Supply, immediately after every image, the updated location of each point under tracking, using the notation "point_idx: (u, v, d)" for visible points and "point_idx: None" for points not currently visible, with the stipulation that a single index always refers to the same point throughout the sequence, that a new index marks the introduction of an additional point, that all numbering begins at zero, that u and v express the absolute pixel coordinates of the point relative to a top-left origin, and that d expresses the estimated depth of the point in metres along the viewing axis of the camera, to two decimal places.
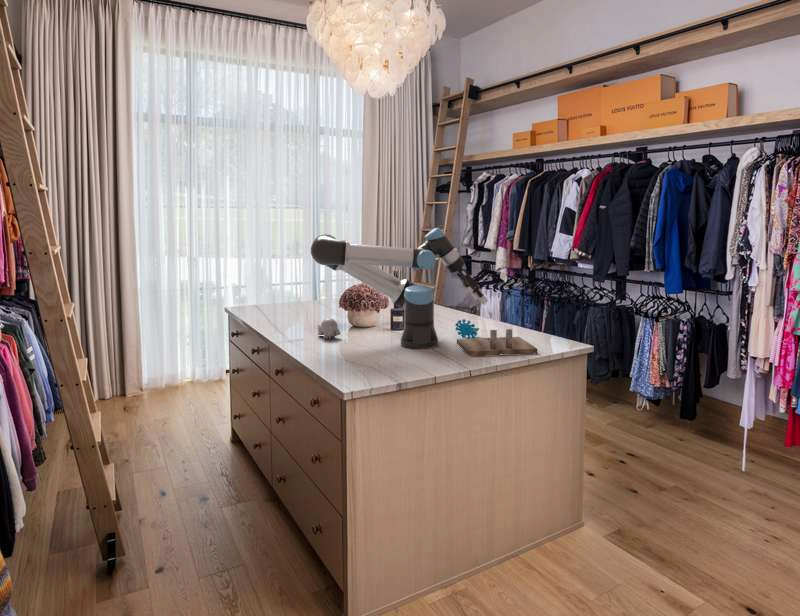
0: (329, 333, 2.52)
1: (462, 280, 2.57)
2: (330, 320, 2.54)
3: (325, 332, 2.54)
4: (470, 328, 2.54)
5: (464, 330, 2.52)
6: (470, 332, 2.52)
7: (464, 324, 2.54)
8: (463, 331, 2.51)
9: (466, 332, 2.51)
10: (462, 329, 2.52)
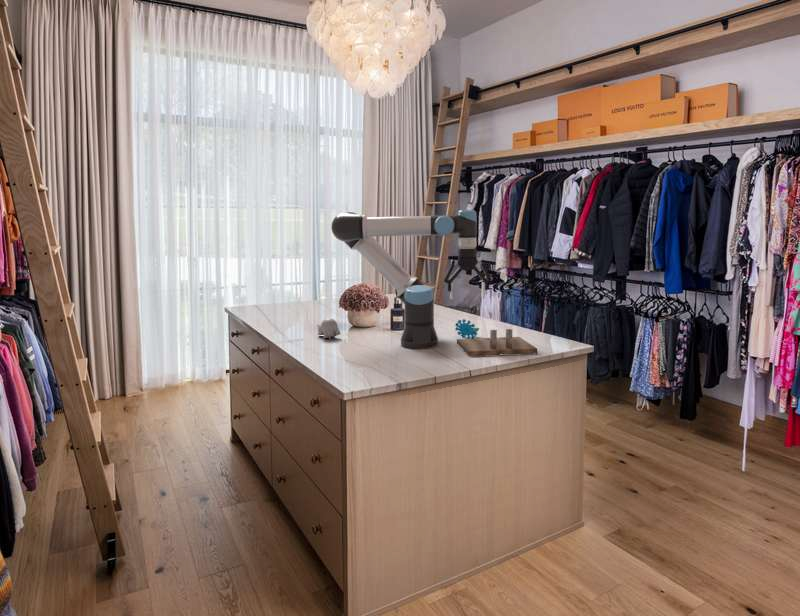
0: (329, 333, 2.52)
1: (475, 271, 2.51)
2: (330, 320, 2.54)
3: (325, 332, 2.54)
4: (470, 328, 2.54)
5: (464, 330, 2.52)
6: (470, 332, 2.52)
7: (464, 324, 2.54)
8: (463, 331, 2.51)
9: (466, 332, 2.51)
10: (462, 329, 2.52)
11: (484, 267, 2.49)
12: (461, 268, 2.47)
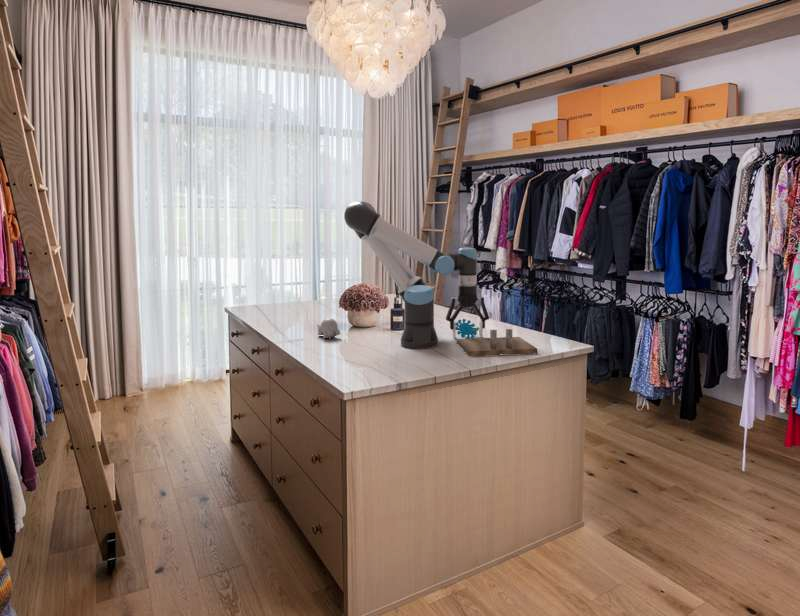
0: (329, 333, 2.52)
1: (474, 308, 2.53)
2: (330, 320, 2.54)
3: (325, 332, 2.54)
4: (470, 328, 2.54)
5: (464, 330, 2.52)
6: (470, 332, 2.52)
7: (464, 324, 2.54)
8: (463, 331, 2.52)
9: (466, 332, 2.52)
10: (462, 329, 2.52)
11: (483, 305, 2.51)
12: (462, 305, 2.50)
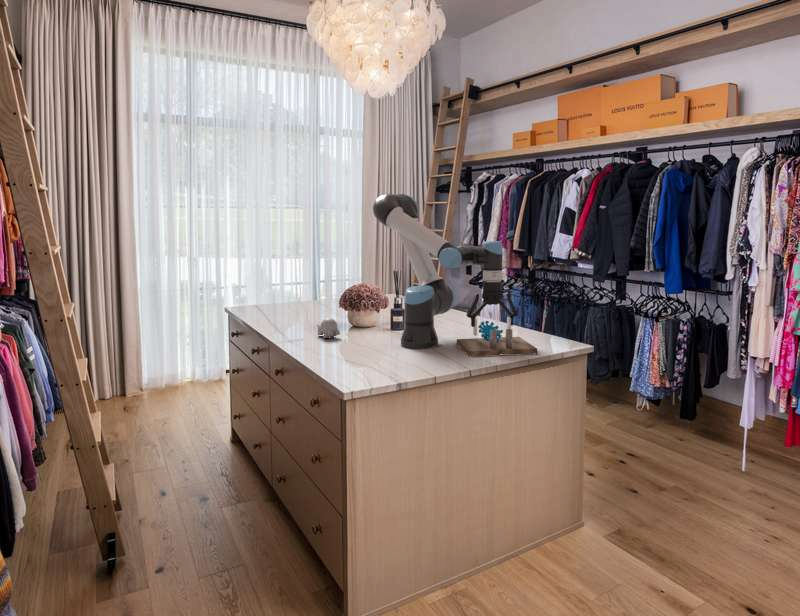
0: (329, 333, 2.52)
1: (500, 305, 2.37)
2: (330, 320, 2.54)
3: (325, 332, 2.54)
4: None
5: (488, 332, 2.36)
6: None
7: (487, 326, 2.38)
8: (487, 333, 2.35)
9: None
10: (486, 331, 2.36)
11: (510, 301, 2.35)
12: (486, 302, 2.33)
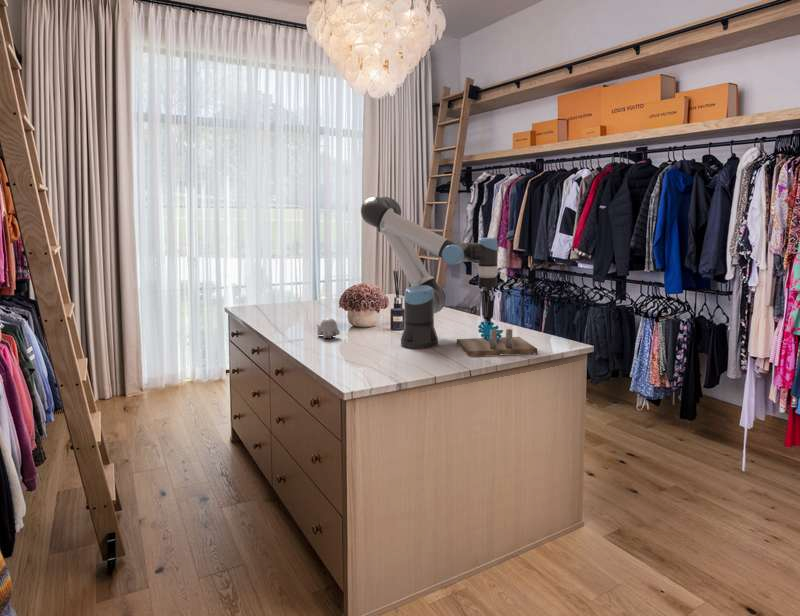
0: (329, 333, 2.52)
1: (484, 302, 2.43)
2: (329, 320, 2.54)
3: (324, 332, 2.54)
4: None
5: (487, 332, 2.36)
6: None
7: (487, 326, 2.38)
8: (486, 333, 2.36)
9: None
10: (485, 331, 2.36)
11: None
12: None
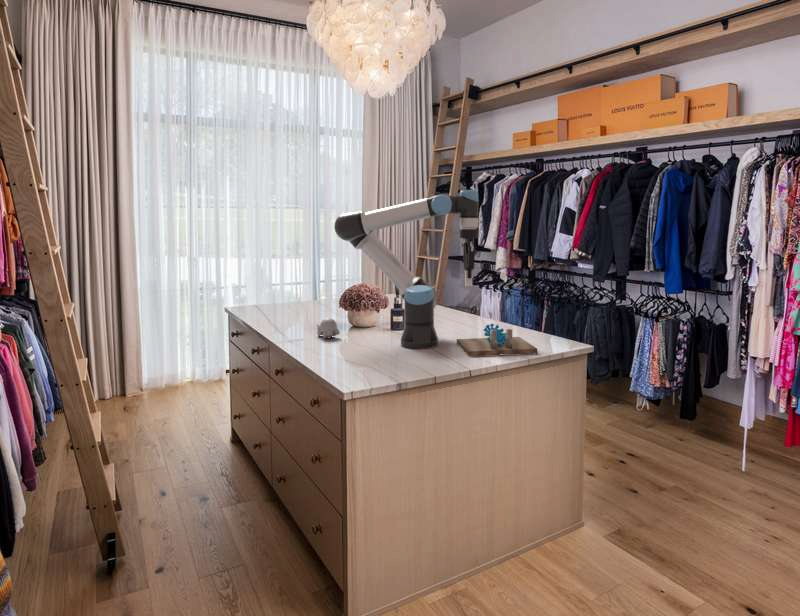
0: (328, 333, 2.53)
1: (465, 254, 2.47)
2: (329, 320, 2.54)
3: (324, 332, 2.54)
4: (499, 333, 2.32)
5: None
6: (500, 337, 2.30)
7: (493, 329, 2.32)
8: None
9: None
10: None
11: None
12: None
